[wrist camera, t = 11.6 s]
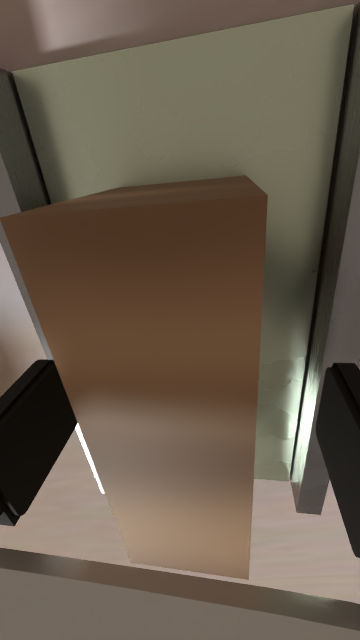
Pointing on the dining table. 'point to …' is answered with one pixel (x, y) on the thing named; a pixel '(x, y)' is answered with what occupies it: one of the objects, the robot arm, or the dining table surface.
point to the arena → (217, 162)
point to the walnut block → (159, 354)
